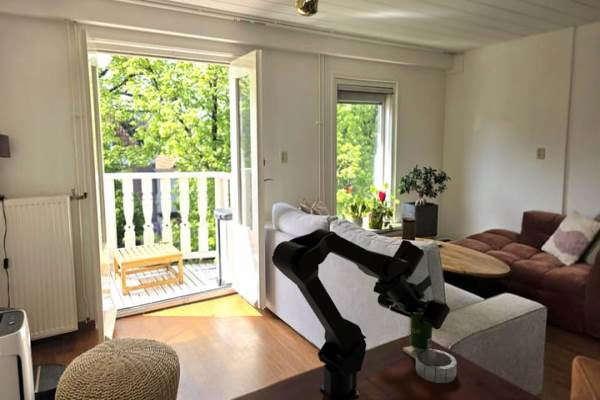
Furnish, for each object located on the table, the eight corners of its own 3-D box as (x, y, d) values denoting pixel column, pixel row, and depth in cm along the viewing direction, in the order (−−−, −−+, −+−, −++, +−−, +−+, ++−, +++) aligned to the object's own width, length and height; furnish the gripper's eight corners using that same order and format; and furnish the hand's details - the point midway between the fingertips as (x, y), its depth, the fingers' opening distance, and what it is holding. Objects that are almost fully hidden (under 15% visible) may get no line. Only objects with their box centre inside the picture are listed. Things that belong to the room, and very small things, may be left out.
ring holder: (434, 386, 94) (435, 372, 94) (408, 367, 102) (408, 354, 102) (463, 377, 98) (464, 363, 98) (436, 359, 106) (436, 346, 106)
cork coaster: (419, 362, 105) (419, 359, 105) (402, 350, 111) (403, 347, 110) (439, 356, 107) (439, 353, 107) (422, 345, 113) (422, 342, 113)
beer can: (433, 345, 109) (435, 301, 108) (428, 353, 105) (430, 308, 103) (413, 340, 112) (415, 297, 111) (407, 348, 108) (408, 303, 106)
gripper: (447, 271, 96) (471, 306, 104) (386, 254, 111) (411, 286, 119) (424, 311, 92) (451, 345, 100) (364, 288, 107) (391, 319, 115)
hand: (425, 321), depth 109 cm, fingers closed on beer can, 5 cm apart
